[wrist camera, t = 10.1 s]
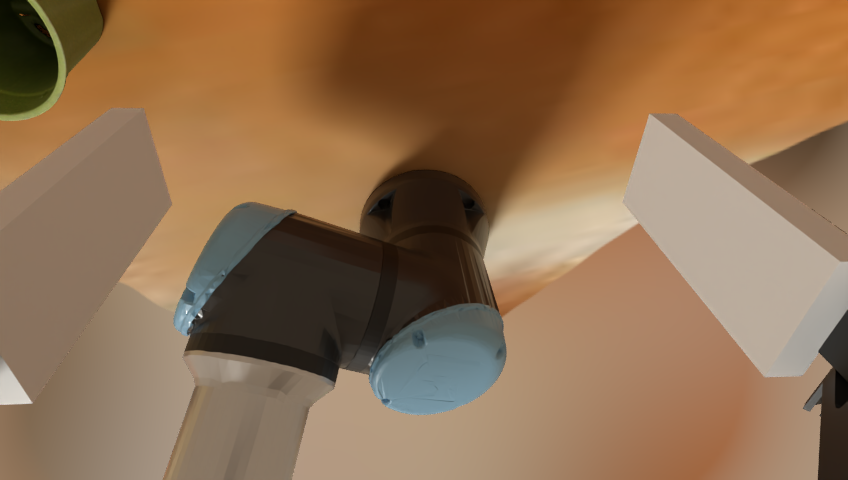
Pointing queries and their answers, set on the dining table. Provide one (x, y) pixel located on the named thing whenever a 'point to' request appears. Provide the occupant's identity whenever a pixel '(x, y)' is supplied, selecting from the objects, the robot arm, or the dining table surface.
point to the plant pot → (42, 51)
